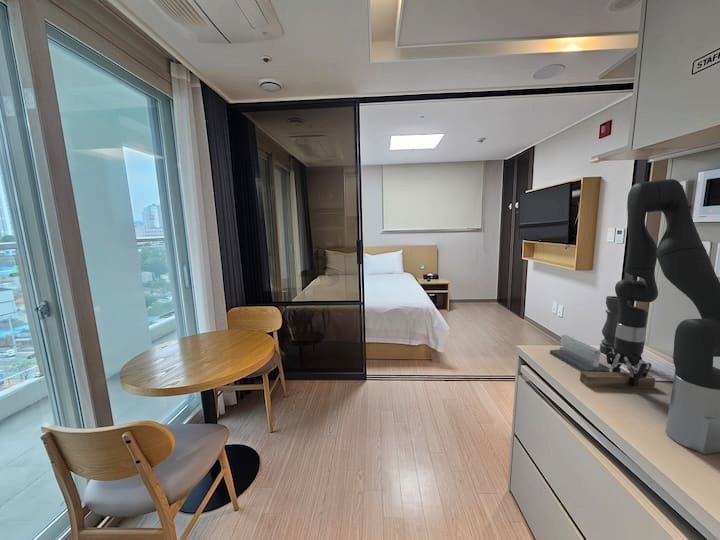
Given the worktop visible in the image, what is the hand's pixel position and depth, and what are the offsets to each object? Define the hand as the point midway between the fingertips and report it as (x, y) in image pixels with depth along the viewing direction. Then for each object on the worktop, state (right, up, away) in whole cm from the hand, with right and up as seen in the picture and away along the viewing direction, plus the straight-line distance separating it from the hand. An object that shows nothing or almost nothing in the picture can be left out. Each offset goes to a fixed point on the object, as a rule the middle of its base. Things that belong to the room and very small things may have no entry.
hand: (623, 381), depth 103 cm
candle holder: (+15, +3, +24) cm, 29 cm away
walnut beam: (-3, -1, 0) cm, 3 cm away
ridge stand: (-4, +2, +16) cm, 17 cm away
